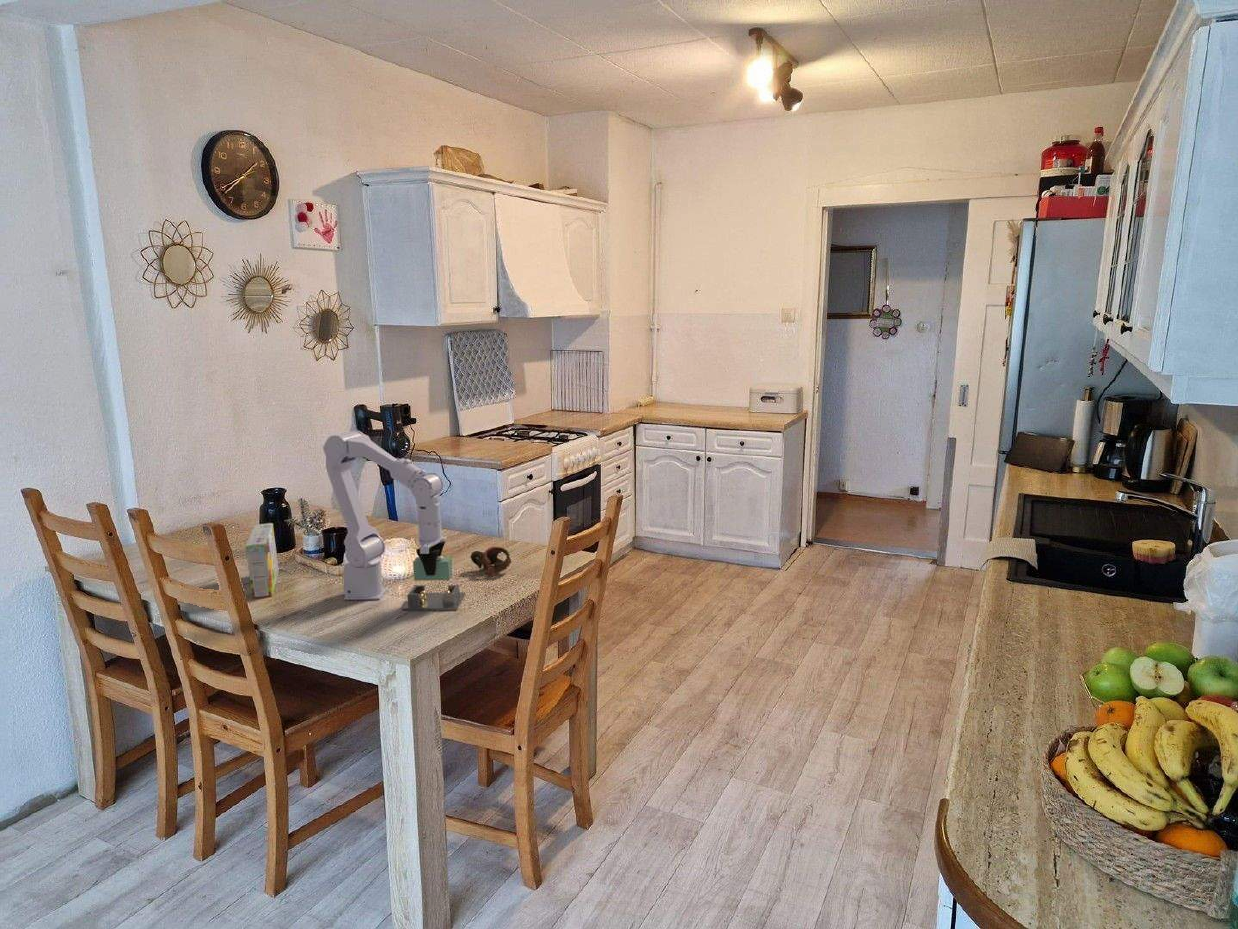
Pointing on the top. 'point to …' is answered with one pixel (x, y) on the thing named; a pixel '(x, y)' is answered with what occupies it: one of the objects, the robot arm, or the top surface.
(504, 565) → the dark brown curved piece
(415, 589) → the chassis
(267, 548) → the snack box
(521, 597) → the top surface
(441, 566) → the green knobbed block
